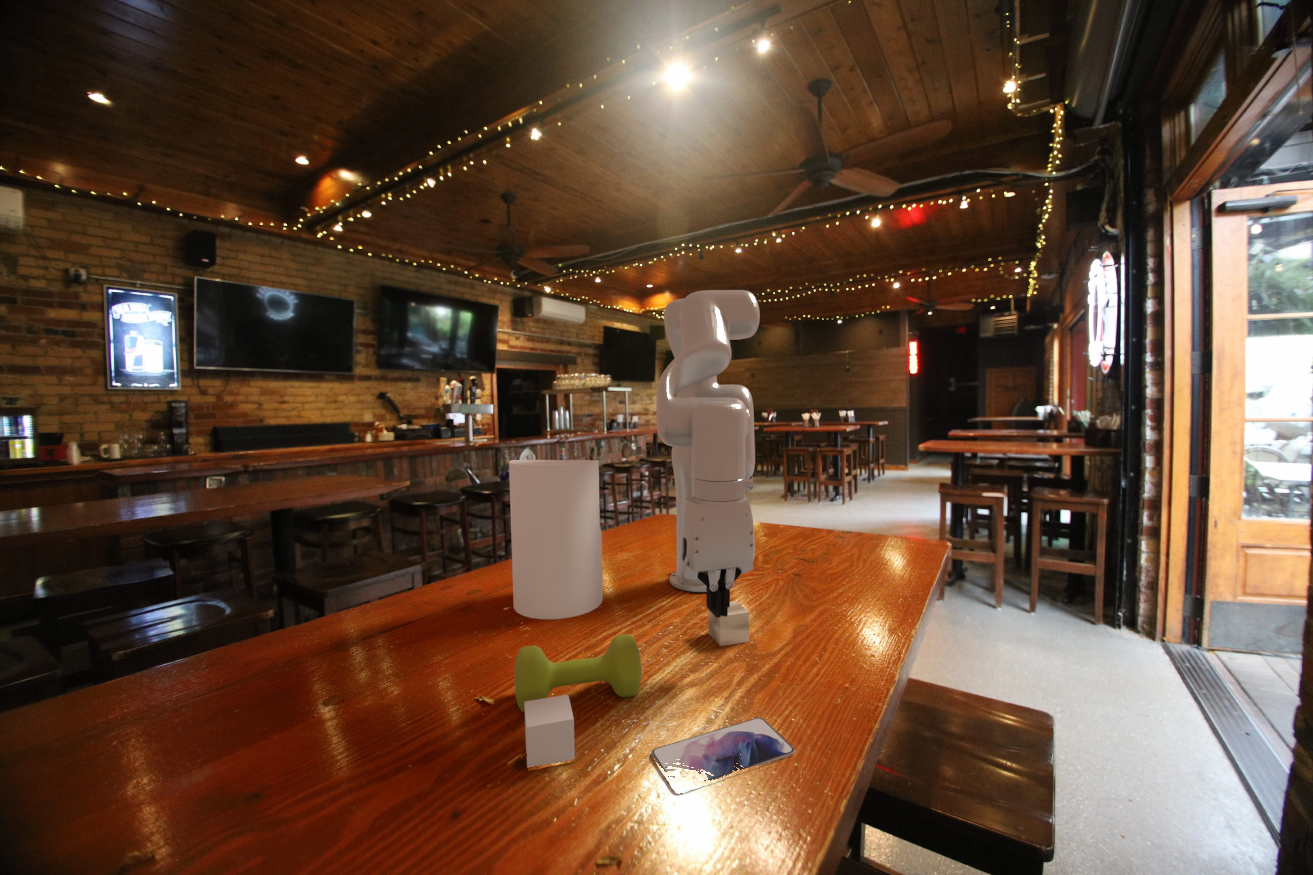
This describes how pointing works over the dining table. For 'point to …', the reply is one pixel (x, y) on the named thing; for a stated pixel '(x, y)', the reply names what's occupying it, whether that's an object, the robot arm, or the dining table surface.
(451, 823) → the dining table surface
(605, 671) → the dumbbell
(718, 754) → the smartphone
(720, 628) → the maple block
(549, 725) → the grey block
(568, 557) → the cylinder
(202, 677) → the dining table surface
